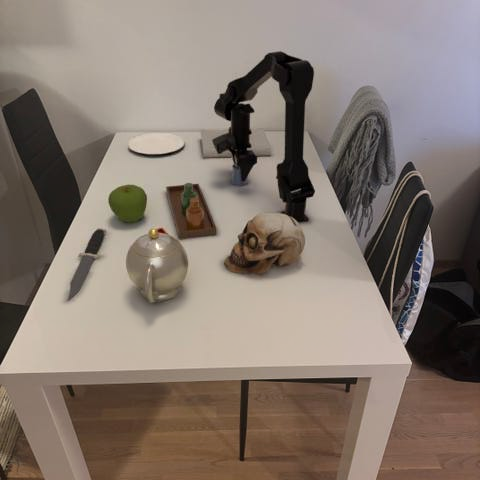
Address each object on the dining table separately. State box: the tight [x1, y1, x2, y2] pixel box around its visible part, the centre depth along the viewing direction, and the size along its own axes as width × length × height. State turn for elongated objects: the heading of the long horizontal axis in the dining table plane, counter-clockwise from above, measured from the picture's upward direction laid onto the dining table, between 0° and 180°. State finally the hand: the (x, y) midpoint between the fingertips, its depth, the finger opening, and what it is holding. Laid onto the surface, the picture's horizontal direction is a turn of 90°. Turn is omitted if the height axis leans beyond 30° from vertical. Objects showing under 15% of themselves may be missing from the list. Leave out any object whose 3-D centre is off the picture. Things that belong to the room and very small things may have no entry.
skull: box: [223, 212, 306, 276], centre depth 117 cm, size 16×17×13 cm
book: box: [200, 128, 271, 159], centre depth 176 cm, size 18×4×24 cm
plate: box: [127, 132, 186, 156], centre depth 176 cm, size 21×21×2 cm
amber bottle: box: [186, 198, 205, 230], centre depth 128 cm, size 5×5×8 cm
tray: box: [165, 183, 218, 240], centre depth 138 cm, size 28×10×2 cm, turn 14°
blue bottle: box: [231, 163, 248, 187], centre depth 152 cm, size 5×5×8 cm
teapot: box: [125, 226, 189, 304], centre depth 104 cm, size 18×14×16 cm
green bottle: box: [181, 182, 198, 216], centre depth 135 cm, size 5×5×8 cm
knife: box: [67, 227, 107, 301], centre depth 118 cm, size 30×2×5 cm
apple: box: [107, 184, 148, 224], centre depth 132 cm, size 11×10×10 cm
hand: (239, 175), depth 153 cm, fingers open, 9 cm apart
